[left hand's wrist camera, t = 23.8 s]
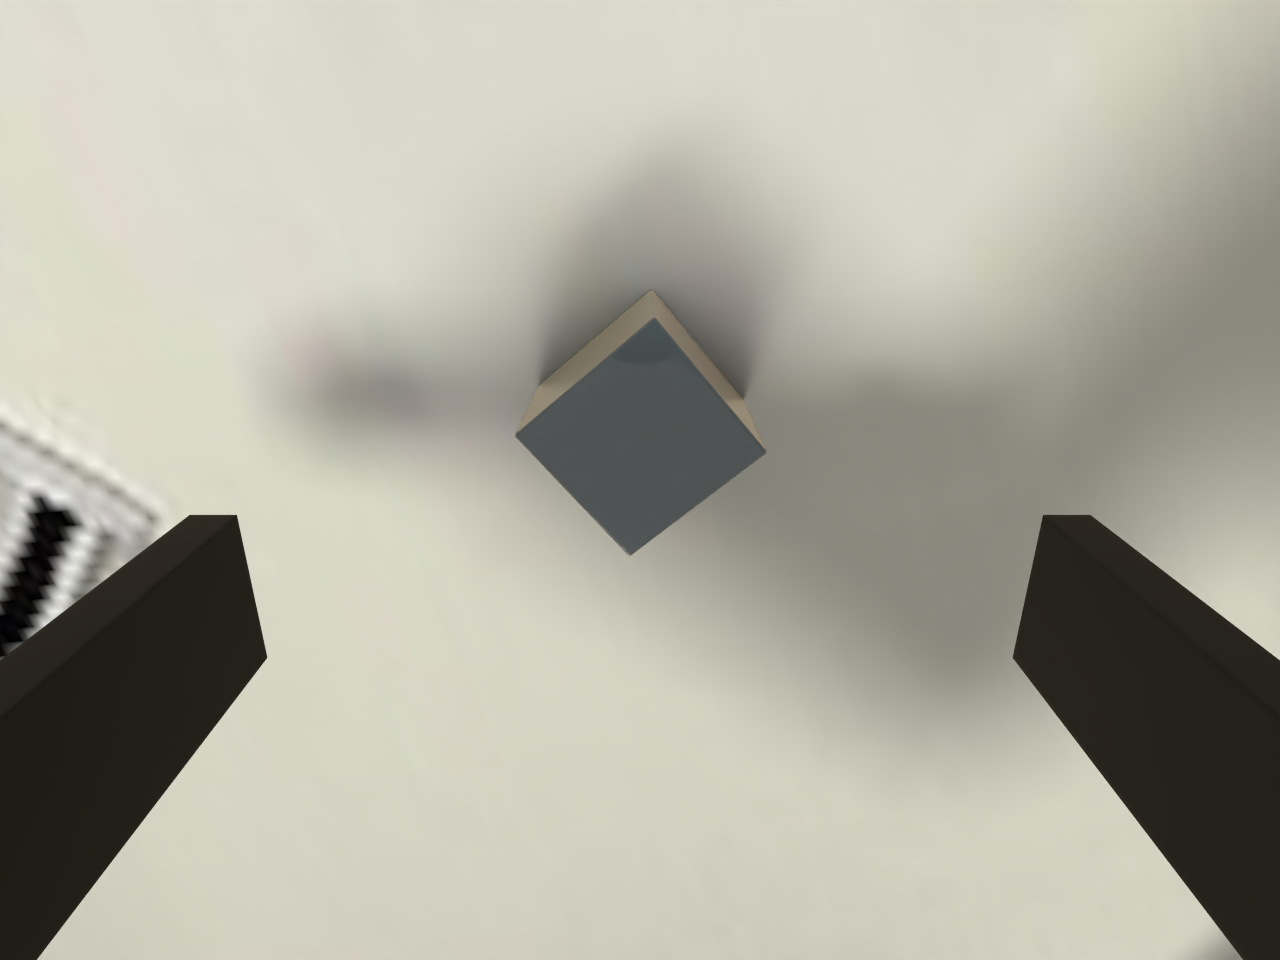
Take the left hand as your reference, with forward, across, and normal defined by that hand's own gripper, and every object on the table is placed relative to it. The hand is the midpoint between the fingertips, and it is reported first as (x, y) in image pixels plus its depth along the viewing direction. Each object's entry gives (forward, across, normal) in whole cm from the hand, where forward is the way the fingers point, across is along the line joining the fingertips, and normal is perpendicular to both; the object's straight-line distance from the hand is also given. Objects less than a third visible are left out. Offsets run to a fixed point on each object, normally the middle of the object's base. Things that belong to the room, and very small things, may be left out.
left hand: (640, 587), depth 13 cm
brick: (+12, 0, 0) cm, 12 cm away
